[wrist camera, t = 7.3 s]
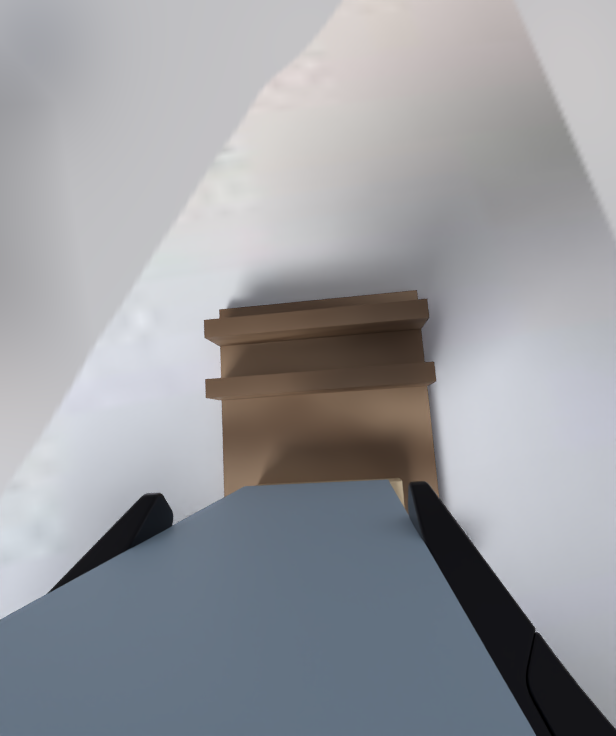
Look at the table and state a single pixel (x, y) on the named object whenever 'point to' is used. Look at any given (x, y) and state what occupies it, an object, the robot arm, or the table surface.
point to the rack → (325, 391)
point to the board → (259, 631)
